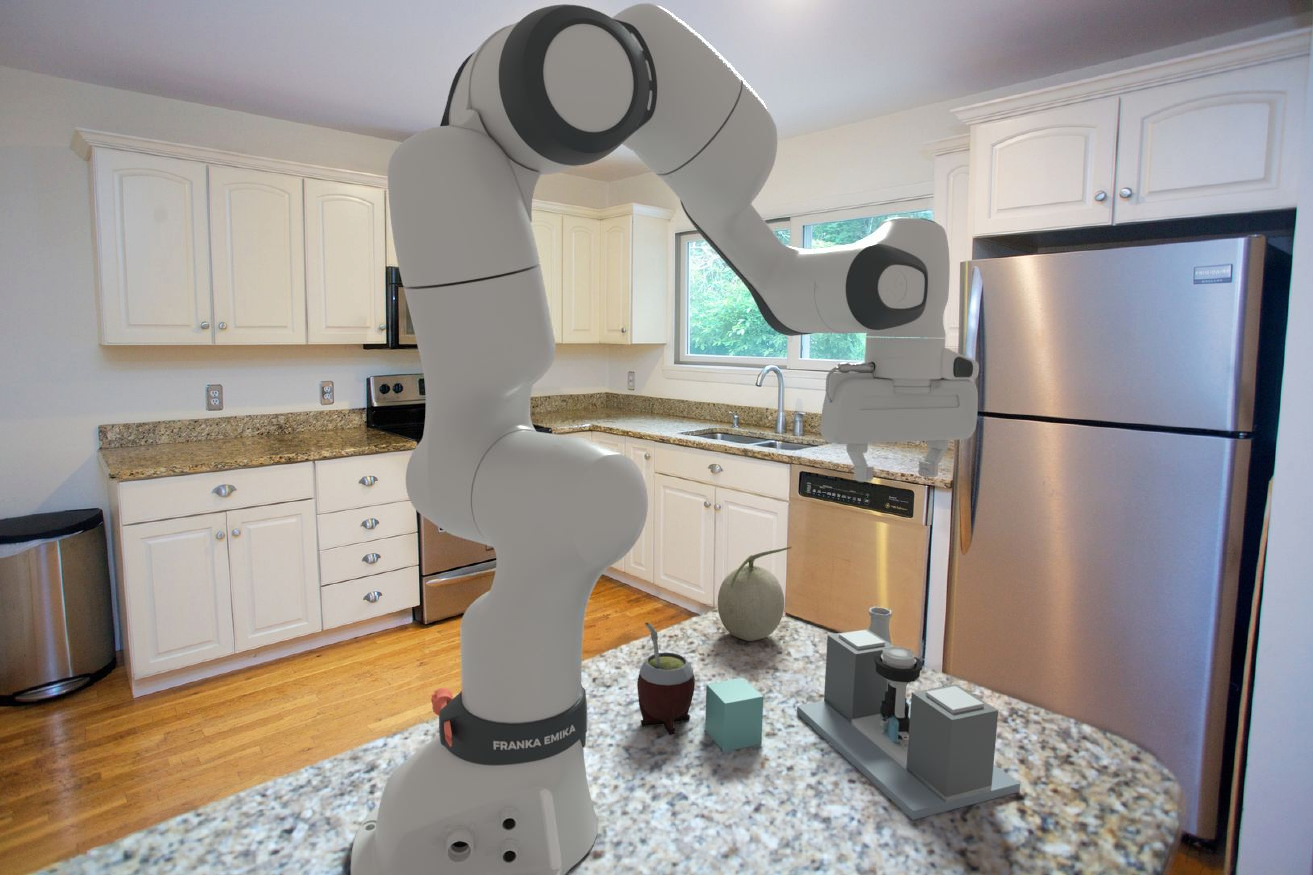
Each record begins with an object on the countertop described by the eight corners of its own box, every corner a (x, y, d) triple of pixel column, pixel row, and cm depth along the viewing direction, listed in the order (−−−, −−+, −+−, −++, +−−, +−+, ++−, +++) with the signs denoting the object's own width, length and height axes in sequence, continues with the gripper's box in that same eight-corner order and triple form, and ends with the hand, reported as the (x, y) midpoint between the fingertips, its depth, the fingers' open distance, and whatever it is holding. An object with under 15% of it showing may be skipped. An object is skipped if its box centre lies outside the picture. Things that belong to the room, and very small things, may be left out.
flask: (842, 680, 103) (846, 612, 101) (859, 661, 109) (863, 597, 107) (894, 695, 99) (899, 624, 97) (909, 675, 105) (914, 608, 103)
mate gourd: (683, 704, 95) (686, 594, 93) (703, 736, 88) (707, 617, 85) (627, 711, 93) (629, 598, 91) (643, 745, 86) (645, 623, 83)
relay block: (763, 696, 86) (761, 743, 86) (743, 677, 90) (741, 722, 91) (725, 703, 84) (723, 752, 85) (706, 683, 88) (705, 730, 89)
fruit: (700, 639, 116) (702, 548, 113) (740, 619, 124) (743, 533, 122) (756, 659, 109) (760, 562, 107) (795, 636, 118) (799, 546, 115)
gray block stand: (912, 819, 73) (920, 722, 72) (796, 712, 93) (800, 635, 92) (1019, 791, 78) (1028, 700, 77) (887, 695, 98) (892, 622, 97)
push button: (929, 752, 82) (935, 668, 81) (882, 752, 82) (887, 668, 81) (907, 721, 89) (912, 643, 87) (863, 721, 89) (868, 642, 87)
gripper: (844, 363, 79) (837, 488, 81) (990, 364, 86) (981, 478, 88) (812, 361, 85) (806, 478, 87) (951, 361, 92) (944, 469, 94)
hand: (896, 478), depth 88 cm, fingers open, 8 cm apart
